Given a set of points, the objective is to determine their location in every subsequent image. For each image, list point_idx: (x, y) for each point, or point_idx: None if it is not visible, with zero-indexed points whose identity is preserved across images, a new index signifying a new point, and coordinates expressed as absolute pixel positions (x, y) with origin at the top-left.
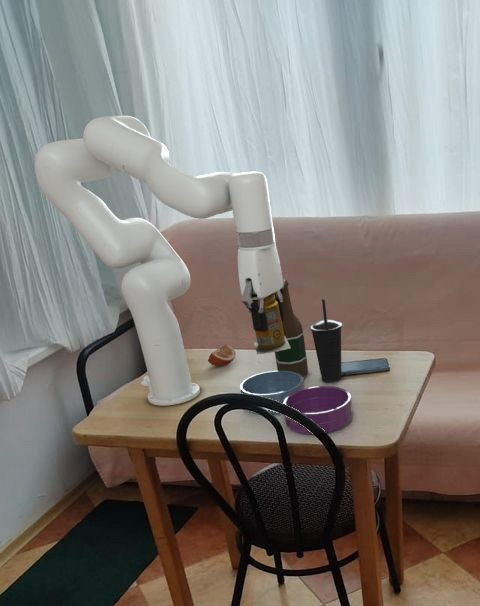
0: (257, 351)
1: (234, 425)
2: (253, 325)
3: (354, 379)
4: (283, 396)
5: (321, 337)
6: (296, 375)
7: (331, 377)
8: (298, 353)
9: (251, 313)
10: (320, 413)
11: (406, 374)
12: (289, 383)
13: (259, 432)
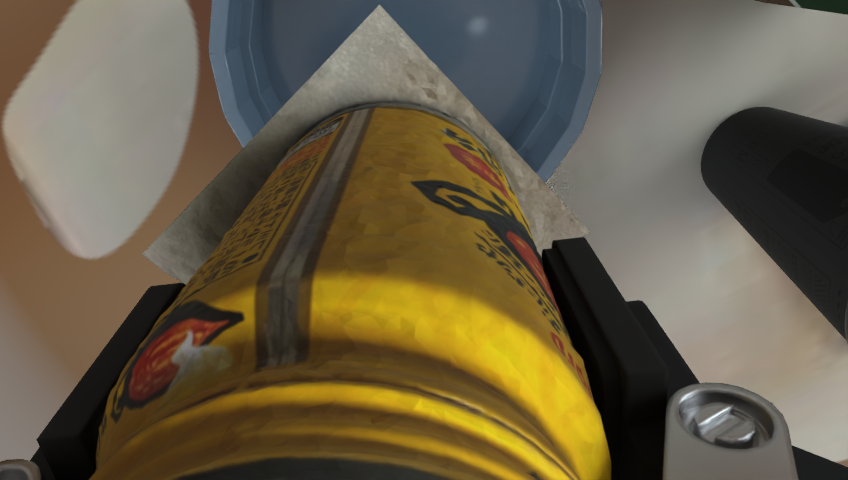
0: (203, 206)
1: (97, 21)
2: (134, 313)
3: (758, 257)
4: None
5: (831, 291)
6: (561, 132)
7: (715, 193)
8: (827, 6)
9: (50, 427)
10: None
11: (833, 415)
12: (558, 54)
13: (117, 185)
